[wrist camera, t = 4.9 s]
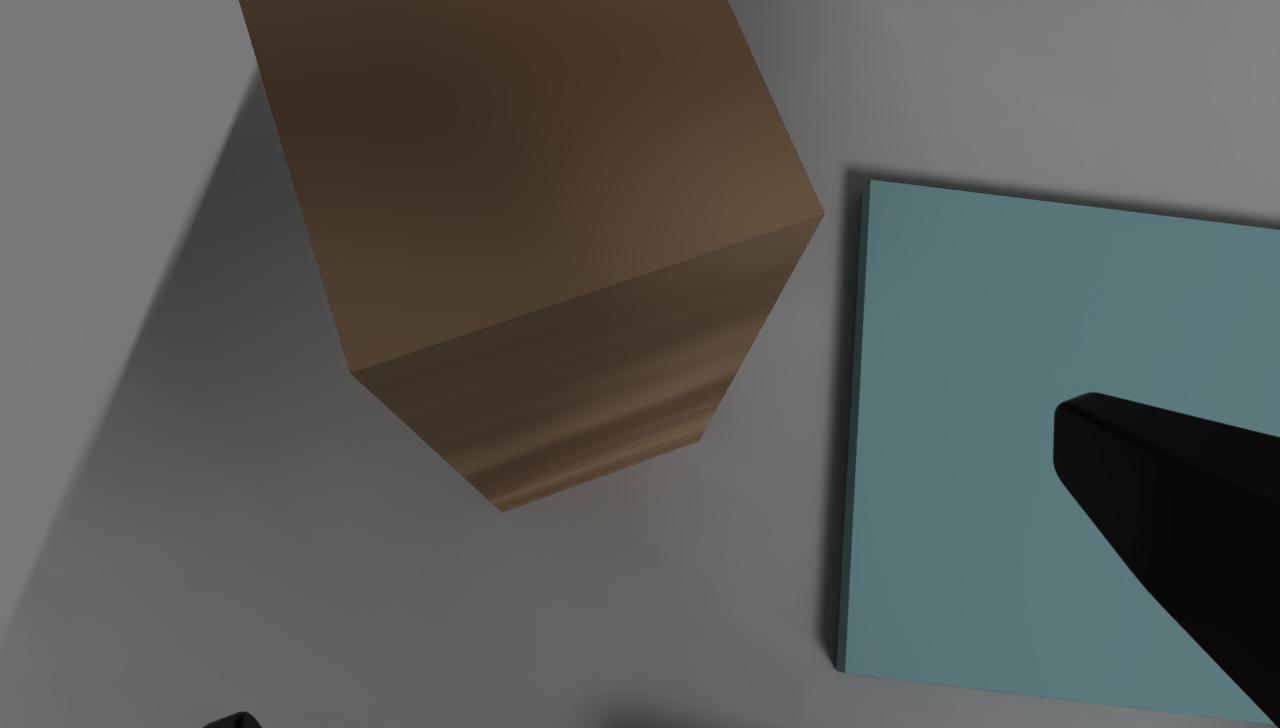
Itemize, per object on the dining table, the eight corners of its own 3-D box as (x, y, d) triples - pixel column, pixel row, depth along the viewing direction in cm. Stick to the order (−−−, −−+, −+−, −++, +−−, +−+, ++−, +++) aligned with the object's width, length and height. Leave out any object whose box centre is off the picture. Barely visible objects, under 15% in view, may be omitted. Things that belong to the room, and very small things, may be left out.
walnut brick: (698, 441, 22) (824, 213, 9) (501, 512, 21) (350, 373, 9) (627, 259, 23) (653, -161, 10) (439, 322, 22) (226, -44, 10)
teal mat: (1356, 733, 20) (1386, 737, 20) (835, 670, 20) (845, 672, 20) (1312, 248, 24) (1336, 236, 23) (862, 193, 24) (870, 179, 23)
